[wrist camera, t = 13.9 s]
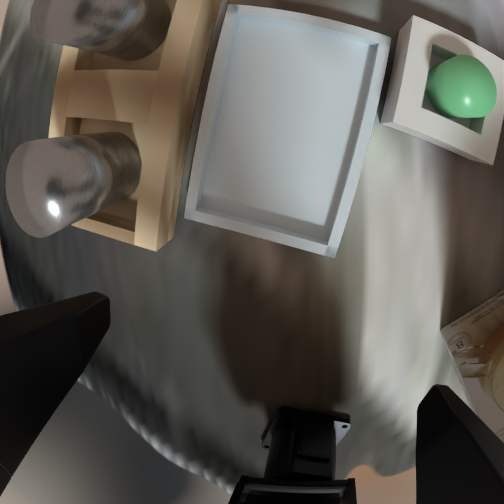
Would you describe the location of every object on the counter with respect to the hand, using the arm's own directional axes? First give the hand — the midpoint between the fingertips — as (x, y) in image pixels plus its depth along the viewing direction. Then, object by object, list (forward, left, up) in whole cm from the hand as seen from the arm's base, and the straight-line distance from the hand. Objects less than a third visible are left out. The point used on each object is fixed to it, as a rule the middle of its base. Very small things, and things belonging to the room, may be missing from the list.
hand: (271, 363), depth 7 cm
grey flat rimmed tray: (+5, +2, -12) cm, 13 cm away
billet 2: (+1, +12, -11) cm, 16 cm away
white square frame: (+10, -6, -12) cm, 17 cm away
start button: (+10, -6, -10) cm, 15 cm away
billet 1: (+10, +12, -11) cm, 19 cm away
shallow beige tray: (+6, +12, -12) cm, 18 cm away
